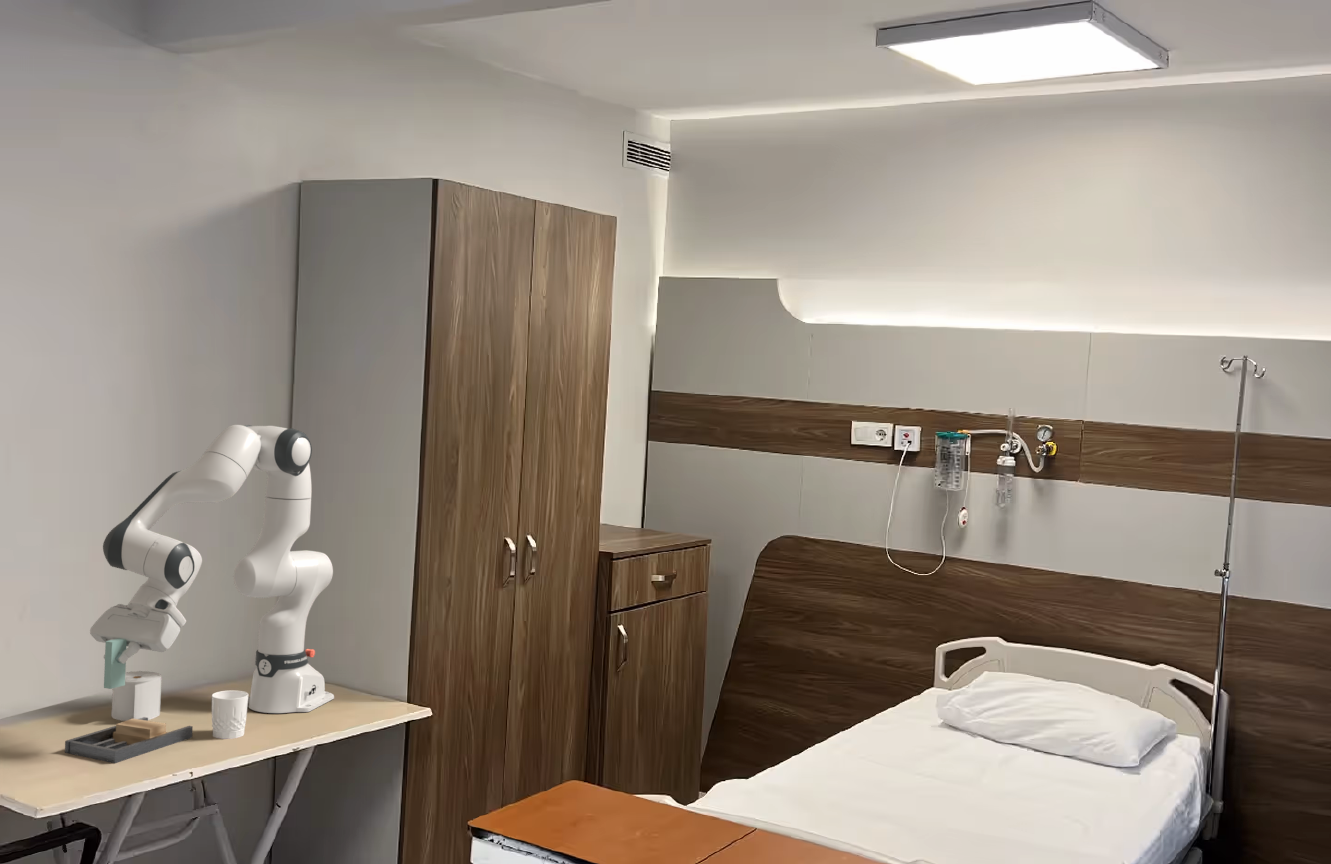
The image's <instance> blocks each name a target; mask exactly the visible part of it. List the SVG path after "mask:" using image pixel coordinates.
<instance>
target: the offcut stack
mask: <svg viewBox="0 0 1331 864" xmlns="http://www.w3.org/2000/svg"><path fill="white" fill-rule="evenodd" d="M115 726H116V731H115V732H113V739H115V742H122V741H125V742H127V744H129V745H131V744H134V743H137V742H140V741H143V740H146V739H149V738H153V737H156V736H159V735H162V734H165V733H168V731H166V730H167V723H165V722H158V721H153V720H148V721H146V720H139V719H130V720H127V721H121V722H119V723H116V724H115Z"/></svg>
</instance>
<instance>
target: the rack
mask: <svg viewBox="0 0 1331 864" xmlns="http://www.w3.org/2000/svg"><path fill="white" fill-rule="evenodd" d="M139 720H146V721H149V720H148V718H147V717H143V718H140V719H139ZM115 731H116V725H114V726H113V725H112V726H110V727H107V728H104V729H100V730H97V731H94V732H91V733H87V734H84V735H80V736H77V737H73V738H70V739H67V740H65V742H64V753H65V754H68V755H69V754H70V755H74V756H78V757H84V758H88V759H92V760H97V761H102V762H107V763H112V764H117V763H121V762H124V761H127V760H130V759H132V758H136V757H138V756H141V755H145V754H147V753H150V752H154V751H156V750H159V749H163V748H165V747H168V746H171V745H174V744H177V743H180V742H183V741H186V740H188V739H192V738H193V726H192V725H187V726H184V727H181V728H177V729H175V730H172V731H169V732H168V731H167V732H168V733H165V734H162V735H159V736H156V737H153V738H149V739H146V740H143V741H140V742H137V743H134V744H131V745H129V744H127V742H125V741H122V742H115V739H113V732H115Z"/></svg>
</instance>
